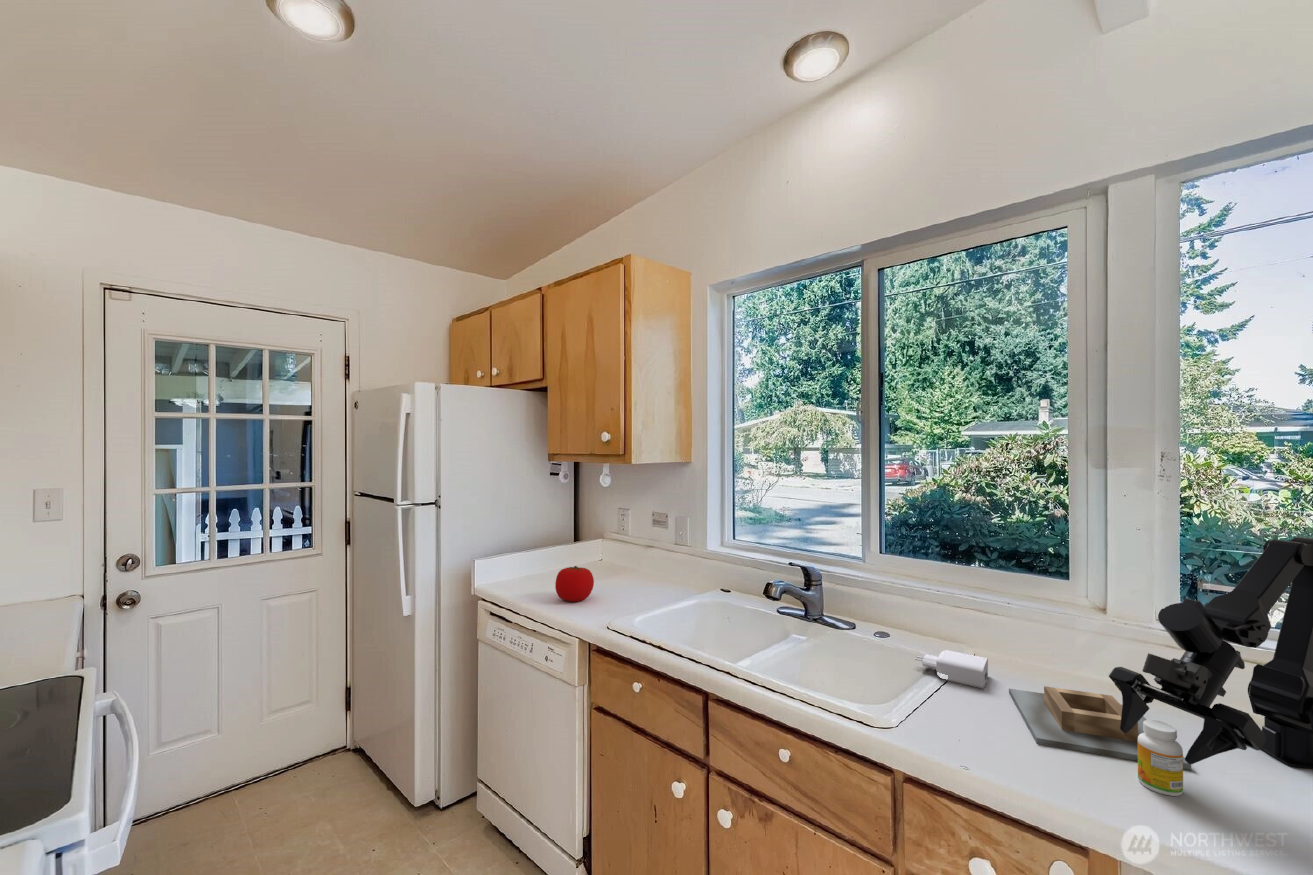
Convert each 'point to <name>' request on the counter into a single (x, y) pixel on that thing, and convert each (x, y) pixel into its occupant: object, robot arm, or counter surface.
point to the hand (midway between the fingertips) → (1153, 745)
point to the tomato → (574, 583)
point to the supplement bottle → (1160, 758)
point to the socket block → (1078, 722)
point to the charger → (959, 667)
